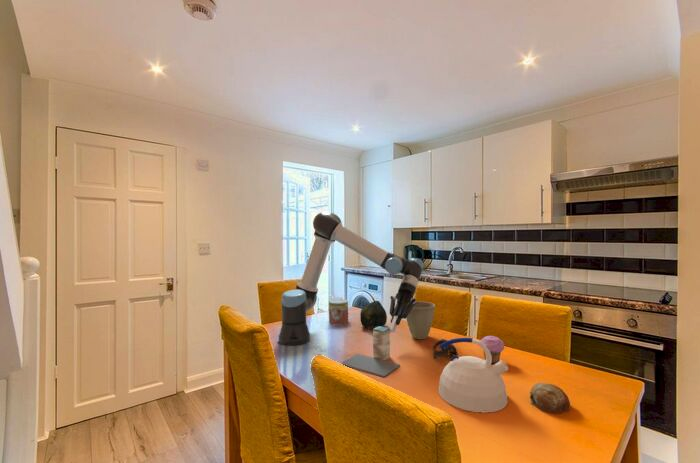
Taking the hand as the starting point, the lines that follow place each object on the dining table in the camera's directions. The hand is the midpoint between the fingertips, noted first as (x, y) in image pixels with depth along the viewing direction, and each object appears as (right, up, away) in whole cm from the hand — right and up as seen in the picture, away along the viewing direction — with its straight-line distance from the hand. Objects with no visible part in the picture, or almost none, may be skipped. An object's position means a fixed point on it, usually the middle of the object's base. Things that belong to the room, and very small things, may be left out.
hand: (392, 330), depth 139 cm
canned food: (-25, -10, +47) cm, 54 cm away
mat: (-11, -9, -14) cm, 20 cm away
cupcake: (+38, -9, -13) cm, 41 cm away
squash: (-5, -9, +37) cm, 38 cm away
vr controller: (+21, -9, -7) cm, 24 cm away
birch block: (-5, -9, -7) cm, 13 cm away
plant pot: (+16, -9, +18) cm, 26 cm away
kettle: (+20, -9, -38) cm, 44 cm away
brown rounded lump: (+41, -9, -44) cm, 61 cm away
